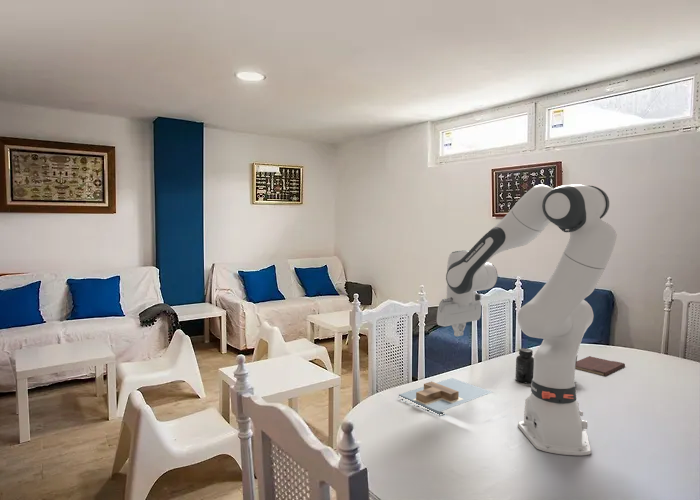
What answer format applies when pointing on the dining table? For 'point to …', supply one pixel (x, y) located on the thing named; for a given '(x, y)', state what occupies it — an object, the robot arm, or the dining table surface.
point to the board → (438, 405)
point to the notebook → (598, 365)
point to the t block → (436, 393)
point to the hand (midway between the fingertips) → (458, 335)
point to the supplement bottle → (524, 366)
